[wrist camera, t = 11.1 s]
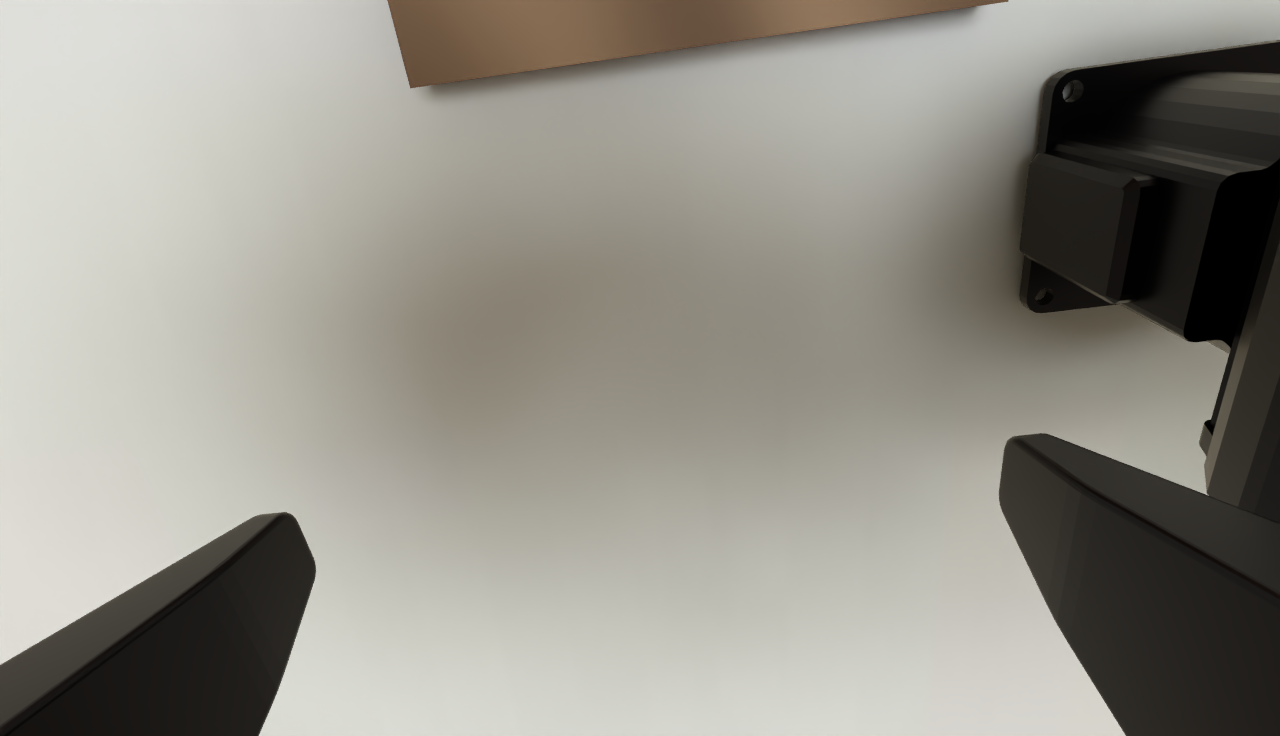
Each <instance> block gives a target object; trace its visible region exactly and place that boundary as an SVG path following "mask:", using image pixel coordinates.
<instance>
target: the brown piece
mask: <svg viewBox="0 0 1280 736" xmlns="http://www.w3.org/2000/svg"><path fill="white" fill-rule="evenodd" d="M1001 2H1008V0H388V4H389V8H390V11H391V15H392V19H393V23H394V27H395V31H396V35H397V38H398V42H399V46H400V50H401V54H402V58H403V62H404V65H405V69H406V73H407V77H408V81H409V85H410V88H415V87H422V86H429V85H436V84H442V83H449V82H456V81H463V80H470V79H477V78H484V77H491V76H498V75H505V74H511V73H518V72H525V71H532V70H539V69H546V68H553V67H560V66H567V65H574V64H580V63H587V62H594V61H601V60H608V59H615V58H622V57H629V56H636V55H643V54H649V53H656V52H663V51H670V50H677V49H684V48H691V47H698V46H705V45H712V44H718V43H725V42H732V41H739V40H746V39H753V38H760V37H767V36H774V35H781V34H787V33H794V32H801V31H808V30H815V29H822V28H829V27H836V26H843V25H849V24H856V23H863V22H870V21H877V20H884V19H891V18H898V17H905V16H912V15H918V14H925V13H932V12H939V11H946V10H953V9H960V8H967V7H974V6H981V5H987V4H994V3H1001Z"/></svg>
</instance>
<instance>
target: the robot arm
mask: <svg viewBox="0 0 1280 736" xmlns="http://www.w3.org/2000/svg"><path fill="white" fill-rule="evenodd" d="M1071 81H1072V82H1073V83H1074V88H1075V89H1074V92H1073V94H1072V96H1071V97H1070V98H1069V99H1067V100H1064V99H1063V94H1062V93H1063V90H1064V87H1065V86H1066V85H1067V84H1068V83H1069V82H1071ZM1020 251H1021V252H1022V253H1023V254H1024V262H1023V270H1022V279H1021V287H1020V301H1021V302H1022V304H1023V305H1024V306H1026V307H1027V308H1029V309H1030V310H1032V311H1034V312H1036V313H1047V312H1055V311H1064V310H1073V309H1081V308H1090V307H1099V306H1107V305H1116V304H1121V305H1123V306H1125V307H1126V308H1128V309H1130V310H1132V311H1134V312H1136V313H1137V314H1139V315H1141V316H1143V317H1145V318H1147V319H1148V320H1150V321H1152V322H1154V323H1156V324H1158V325H1159V326H1161V327H1163V328H1165V329H1167V330H1169V331H1170V332H1172V333H1174V334H1176V335H1178V336H1180V337H1181V338H1183V339H1185V340H1187V341H1190V342H1202V341H1207V342H1209V343H1211V344H1213V345H1214V346H1216V347H1218V348H1220V349H1222V350H1224V351H1226V352H1228V353H1230V354H1229V357H1228V361H1227V365H1226V368H1225V372H1224V375H1223V379H1222V383H1221V386H1220V390H1219V393H1218V397H1217V401H1216V404H1215V408H1214V411H1213V415H1212V419H1211V420H1207V421H1206V422H1205V423H1204V426H1203V430H1202V433H1201V437H1200V441H1199V445H1200V446H1201V448H1202V450H1203V451H1204V453H1205V454H1206V456H1207V457H1206V461H1205V464H1204V467H1205V478H1206V489H1207V493H1208V495H1209V496H1208V495H1205V494H1203V493H1200V492H1197V491H1195V490H1192V489H1190V488H1187V487H1184V486H1182V485H1179V484H1177V483H1174V482H1171V481H1169V480H1166V479H1163V478H1161V477H1158V476H1156V475H1153V474H1150V473H1148V472H1145V471H1143V470H1140V469H1137V468H1135V467H1132V466H1130V465H1127V464H1124V463H1122V462H1119V461H1117V460H1114V459H1111V458H1109V457H1106V456H1104V455H1101V454H1098V453H1096V452H1093V451H1091V450H1088V449H1085V448H1083V447H1080V446H1078V445H1075V444H1072V443H1070V442H1067V441H1065V440H1062V439H1059V438H1057V437H1054V436H1052V435H1049V434H1042V433H1040V434H1031V435H1022V436H1014V437H1012V438H1010V439H1009V440H1008V441H1007V443H1006V445H1005V448H1004V455H1003V463H1002V471H1001V479H1000V488H999V501H1000V506H1001V509H1002V512H1003V514H1004V516H1005V519H1006V521H1007V523H1008V525H1009V527H1010V529H1011V531H1012V533H1013V535H1014V537H1015V539H1016V541H1017V543H1018V546H1019V548H1020V550H1021V552H1022V554H1023V556H1024V558H1025V560H1026V562H1027V564H1028V566H1029V568H1030V571H1031V573H1032V575H1033V577H1034V579H1035V581H1036V583H1037V585H1038V587H1039V589H1040V591H1041V593H1042V595H1043V598H1044V600H1045V602H1046V604H1047V606H1048V608H1049V610H1050V612H1051V614H1052V615H1053V617H1054V619H1055V621H1056V623H1057V625H1058V627H1059V628H1060V630H1061V632H1062V633H1063V635H1064V637H1065V638H1066V640H1067V642H1068V643H1069V645H1070V647H1071V648H1072V650H1073V651H1074V653H1075V655H1076V656H1077V658H1078V659H1079V661H1080V663H1081V664H1082V666H1083V668H1084V669H1085V671H1086V672H1087V674H1088V676H1089V677H1090V679H1091V680H1092V682H1093V684H1094V685H1095V687H1096V688H1097V690H1098V692H1099V693H1100V695H1101V696H1102V698H1103V700H1104V701H1105V703H1106V704H1107V706H1108V708H1109V709H1110V711H1111V712H1112V714H1113V716H1114V717H1115V719H1116V720H1117V722H1118V724H1119V725H1120V727H1121V728H1122V730H1123V732H1124V733H1125V735H1126V736H1280V40H1276V41H1268V42H1261V43H1254V44H1247V45H1239V46H1232V47H1225V48H1218V49H1210V50H1203V51H1196V52H1189V53H1181V54H1174V55H1167V56H1160V57H1152V58H1145V59H1138V60H1131V61H1123V62H1116V63H1109V64H1102V65H1094V66H1087V67H1080V68H1073V69H1066V70H1063V71H1060V72H1058V73H1057V74H1056V75H1054V76H1053V77H1052V78H1051V79H1050V81H1049V82H1048V84H1047V85H1046V88H1045V92H1044V98H1043V106H1042V114H1041V122H1040V131H1039V139H1038V147H1037V155H1036V156H1035V157H1034V159H1033V160H1032V161H1031V162H1030V165H1029V173H1028V182H1027V190H1026V199H1025V207H1024V216H1023V224H1022V233H1021V241H1020ZM1045 288H1046V293H1045V295H1044V296H1043V297H1042V298H1041V299H1039V300H1035V297H1036V295H1037V293H1038V292H1039V291H1040V290H1042V289H1045ZM315 574H316V566H315V561H314V558H313V556H312V553H311V551H310V549H309V546H308V544H307V542H306V540H305V537H304V535H303V533H302V531H301V528H300V526H299V524H298V522H297V520H296V518H295V517H294V516H293V515H291V514H289V513H287V512H282V513H272V514H262V515H257V516H255V517H253V518H251V519H249V520H247V521H246V522H244V523H242V524H240V525H239V526H237V527H235V528H234V529H232V530H230V531H229V532H227V533H225V534H223V535H222V536H220V537H218V538H217V539H215V540H213V541H211V542H210V543H208V544H206V545H205V546H203V547H201V548H199V549H198V550H196V551H194V552H193V553H191V554H189V555H187V556H186V557H184V558H182V559H181V560H179V561H177V562H176V563H174V564H172V565H170V566H169V567H167V568H165V569H164V570H162V571H160V572H158V573H157V574H155V575H153V576H152V577H150V578H148V579H146V580H145V581H143V582H141V583H140V584H138V585H136V586H134V587H133V588H131V589H129V590H128V591H126V592H124V593H123V594H121V595H119V596H117V597H116V598H114V599H112V600H111V601H109V602H107V603H105V604H104V605H102V606H100V607H99V608H97V609H95V610H93V611H92V612H90V613H88V614H87V615H85V616H83V617H81V618H80V619H78V620H76V621H75V622H73V623H71V624H69V625H68V626H66V627H64V628H63V629H61V630H59V631H58V632H56V633H54V634H52V635H51V636H49V637H47V638H46V639H44V640H42V641H40V642H39V643H37V644H35V645H34V646H32V647H30V648H28V649H27V650H25V651H23V652H22V653H20V654H18V655H16V656H15V657H13V658H11V659H10V660H8V661H6V662H5V663H3V664H1V665H0V736H259V734H260V731H261V729H262V727H263V724H264V722H265V720H266V718H267V715H268V713H269V711H270V708H271V706H272V704H273V701H274V699H275V696H276V694H277V691H278V689H279V686H280V683H281V680H282V678H283V675H284V672H285V669H286V666H287V663H288V660H289V657H290V654H291V651H292V648H293V645H294V642H295V639H296V635H297V632H298V629H299V626H300V623H301V620H302V617H303V614H304V611H305V608H306V605H307V602H308V599H309V596H310V593H311V590H312V587H313V583H314V580H315Z"/></svg>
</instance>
